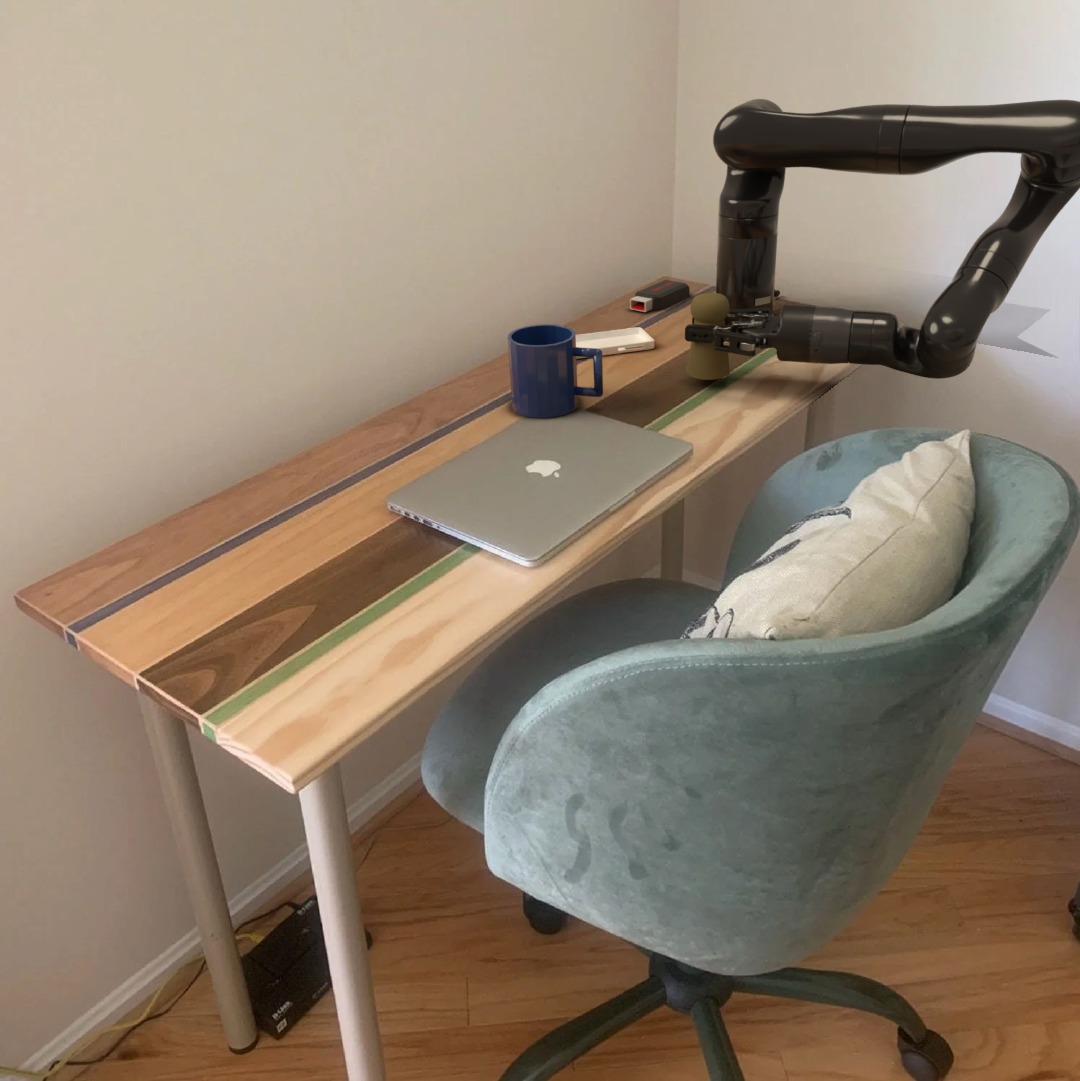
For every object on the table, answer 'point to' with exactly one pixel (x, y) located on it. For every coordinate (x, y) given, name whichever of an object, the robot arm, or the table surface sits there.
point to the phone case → (616, 341)
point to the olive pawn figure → (702, 354)
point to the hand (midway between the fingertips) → (689, 327)
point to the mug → (548, 370)
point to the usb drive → (659, 296)
